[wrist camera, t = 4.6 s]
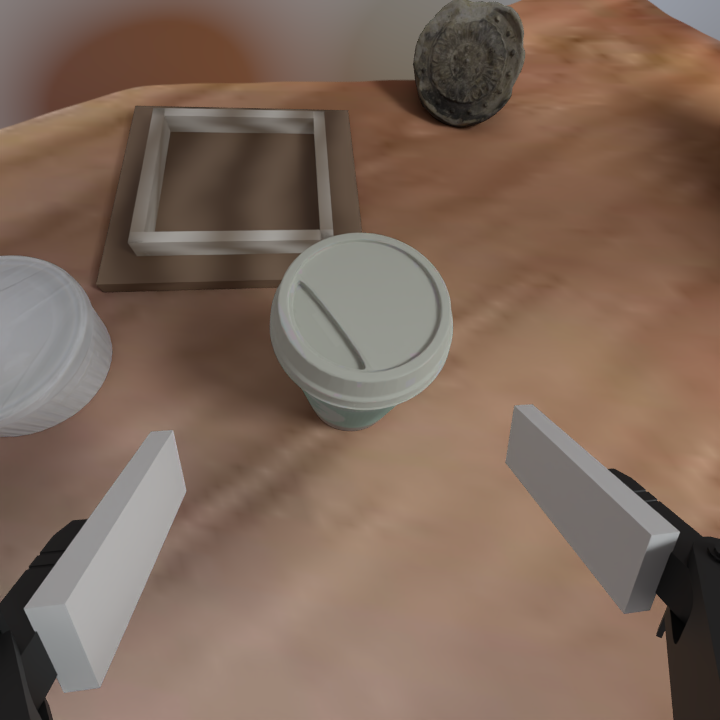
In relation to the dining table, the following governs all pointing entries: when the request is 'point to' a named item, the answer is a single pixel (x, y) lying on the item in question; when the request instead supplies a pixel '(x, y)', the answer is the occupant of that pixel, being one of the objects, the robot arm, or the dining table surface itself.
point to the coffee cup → (361, 326)
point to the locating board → (226, 196)
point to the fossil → (468, 61)
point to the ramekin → (46, 346)
